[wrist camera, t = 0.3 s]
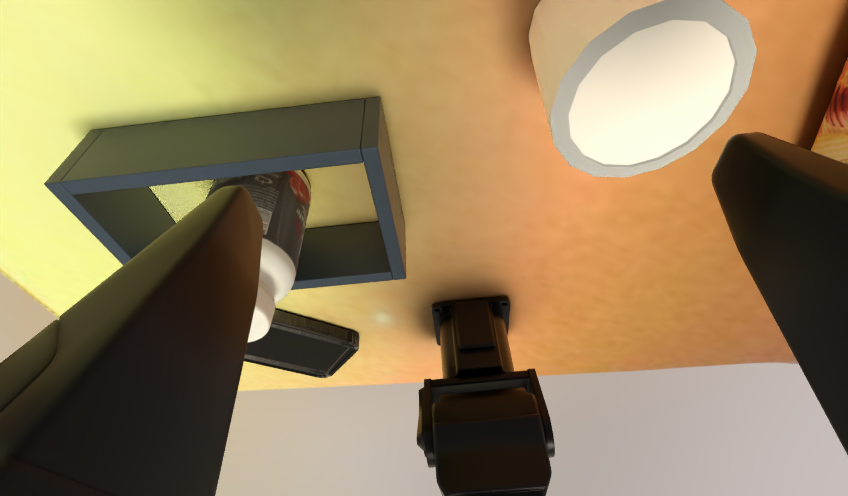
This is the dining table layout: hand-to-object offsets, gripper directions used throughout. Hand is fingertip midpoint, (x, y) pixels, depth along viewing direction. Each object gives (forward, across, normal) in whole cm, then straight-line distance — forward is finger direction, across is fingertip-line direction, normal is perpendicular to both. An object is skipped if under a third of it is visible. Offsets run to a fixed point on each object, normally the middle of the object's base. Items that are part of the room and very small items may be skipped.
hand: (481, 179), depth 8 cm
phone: (+14, +17, +26) cm, 34 cm away
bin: (+14, +11, +10) cm, 21 cm away
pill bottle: (+14, +11, +10) cm, 21 cm away
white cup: (+14, -7, +3) cm, 16 cm away
